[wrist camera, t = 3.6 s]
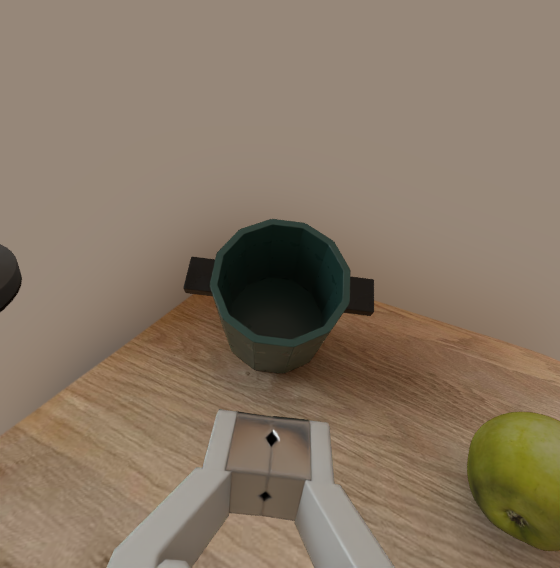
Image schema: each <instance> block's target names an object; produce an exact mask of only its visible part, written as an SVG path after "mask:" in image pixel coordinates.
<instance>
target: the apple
mask: <svg viewBox="0 0 560 568" xmlns="http://www.w3.org/2000/svg"><path fill="white" fill-rule="evenodd" d="M467 474H468V481H469V486H470V489H471V492H472V495H473V497H474V499H475V501H476V503H477V504H478V506H479V507H480V509H481V510H482V512H483V513H484V514H485V516H486V517H487V518H488V519H489V520H490V521H491V522H492V523H493V524H494V525H495V526H496V527H498V528H499V529H501V530H503V531H504V532H506V533H507V534H509V535H511V536H513V537H515V538H516V539H519V540H521V541H523V542H525V543H527V544H529V545H531V546H533V547H535V548H538V549H541V550H544V551H559V550H560V421H558V420H556V419H553V418H551V417H548V416H545V415H542V414H538V413H531V412H511V413H506V414H502V415H499V416H497V417H495V418H493V419H491V420H489V421H487V422H486V423H485V424H483V425H482V426H481V427H480V428H479V429H478V431H477V432H476V433H475V435H474V437H473V439H472V441H471V444H470V448H469V454H468V462H467Z"/></svg>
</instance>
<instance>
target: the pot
mask: <svg viewBox="0 0 560 568" xmlns="http://www.w3.org/2000/svg"><path fill="white" fill-rule="evenodd" d="M184 290H185V292H186V293H190V294H198V295H206V296H213V298H214V301H215V304H216V308H217V311H218V314H219V317H220V320H221V323H222V326H223V329H224V332H225V335H226V337H227V340H228V342H229V345H230V348H231V350H232V352H233V354H235V355H236V356H237V357H238V358H240V359H241V360H242V361H244V362H245V363H246V364H248V365H249V366H250V367H251V368H253V369H254V370H258V371H266V372H274V373H282V374H283V373H286V372H288V371H291V370H293V369H295V368H297V367H300V366H302V365H304V364H307V363H309V362H310V361H311V359H312V358H313V356H314V355H315V353H316V352H317V351H318V349H319V348H320V346H321V345H322V343H323V342H324V340H325V339H326V338H327V336H328V335H329V333H330V332H331V330H332V329H333V327H334V326H335V324H336V323H337V321H338V320H339V318H340V317H341V315H342V314H343V313H350V314H358V315H366V316H371V315H372V314H373V313H374V280H373V279H366V278H358V277H350V269H349V267H348V265H347V263H346V262H345V260H344V258H343V256H342V254H341V253H340V251H339V249H338V247H337V246H336V244H335V242H333V240H331V239H329V238H328V237H326V236H325V235H323V234H322V233H320V232H319V231H317V230H315V229H314V228H312V227H311V226H309V225H308V224H305V223H300V222H293V221H284V220H277V219H270V220H267V221H264V222H260V223H258V224H255V225H251V226H248V227H245V228H242V229H240V230H238V232H237V233H236V234H235V235H234V236H233V237H232V238H231V239H230V240H229V241H228V242H227V243H226V244H225V245H224V246H223V247H222V248H221V249H220V250H219V251H218V252H217V254H216V258H215V260H214V259H206V258H198V257H191V260H190V264H189V268H188V272H187V276H186V280H185V284H184Z"/></svg>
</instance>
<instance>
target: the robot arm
mask: <svg viewBox="0 0 560 568" xmlns="http://www.w3.org/2000/svg"><path fill="white" fill-rule="evenodd" d="M229 513H235V514H246V515H257V516H266V517H272V518H279V519H286V520H292V521H295V525H296V527H297V529H298V532H299V534H300V536H301V538H302V541H303V543H304V545H305V548H306V550H307V552H308V554H309V557H310V559H311V561H312V563H313V566H314V568H395V567H394V565H393V564H392V562H391V561H390V559H389V558H388V556H387V555H386V553H385V552H384V550H383V549H382V547H381V546H380V544H379V542H378V541H377V539H376V538H375V536H374V535H373V533H372V532H371V530H370V529H369V527H368V526H367V524H366V523H365V521H364V520H363V518H362V517H361V515H360V514H359V512H358V511H357V509H356V508H355V506H354V505H353V503H352V502H351V500H350V499H349V497H348V496H347V494H346V493H345V491H344V490H343V488H342V487H341V485H339V484H334V473H333V462H332V450H331V438H330V426H329V424H328V423H327V422H319V421H309V420H305V419H296V418H287V417H277V416H273V417H270V416H264V415H257V414H250V413H244V412H237V411H229V410H221V409H219V411H218V413H217V415H216V419H215V422H214V426H213V430H212V434H211V437H210V441H209V445H208V449H207V452H206V456H205V460H204V464H203V467H202V468H200V467H196V468H195V469H194V470H193V471H192V472H191V473H190V474H189V475H188V476H187V477H186V478H185V479H184V480H183V481H182V482H181V483H180V484H179V485H178V486H177V487H176V488H175V489H174V490H173V491H172V492H171V493H170V494H169V495H168V496H167V497H166V498H165V499H164V500H163V501H162V502H161V504H160V505H159V506H158V507H157V508H156V509H155V510H154V511H153V512H152V513H151V514H150V515H149V516H148V517H147V518H146V519H145V520H144V521H143V522H142V523H141V524H140V525H139V526H138V527H137V528H136V529H135V530H134V531H133V532H132V533H131V534H130V535H129V536H128V537H127V538H126V539H125V540H124V541H123V542H122V543H121V544H120V545H119V546H118V547H117V548H116V549H115V550H114V552H113V554H112V556H111V559H110V561H109V564H108V566H107V568H192V566H193V565H194V563H195V562H196V561H197V559H198V558H199V556H200V555H201V554H202V552H203V551H204V549H205V548H206V547H207V545H208V544H209V542H210V541H211V540H212V538H213V537H214V535H215V534H216V533H217V531H218V530H219V528H220V527H221V526H222V524H223V523H224V521H225V520H226V519H227V517H228V516H229Z"/></svg>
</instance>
